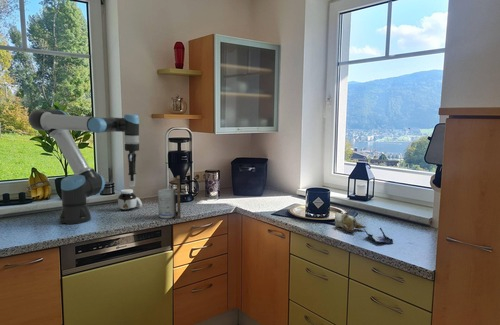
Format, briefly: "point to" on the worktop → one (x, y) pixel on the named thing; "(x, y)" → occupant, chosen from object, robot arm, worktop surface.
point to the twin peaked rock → (381, 238)
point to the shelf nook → (177, 180)
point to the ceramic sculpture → (347, 222)
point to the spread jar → (128, 200)
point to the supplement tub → (167, 203)
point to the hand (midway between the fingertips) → (132, 186)
